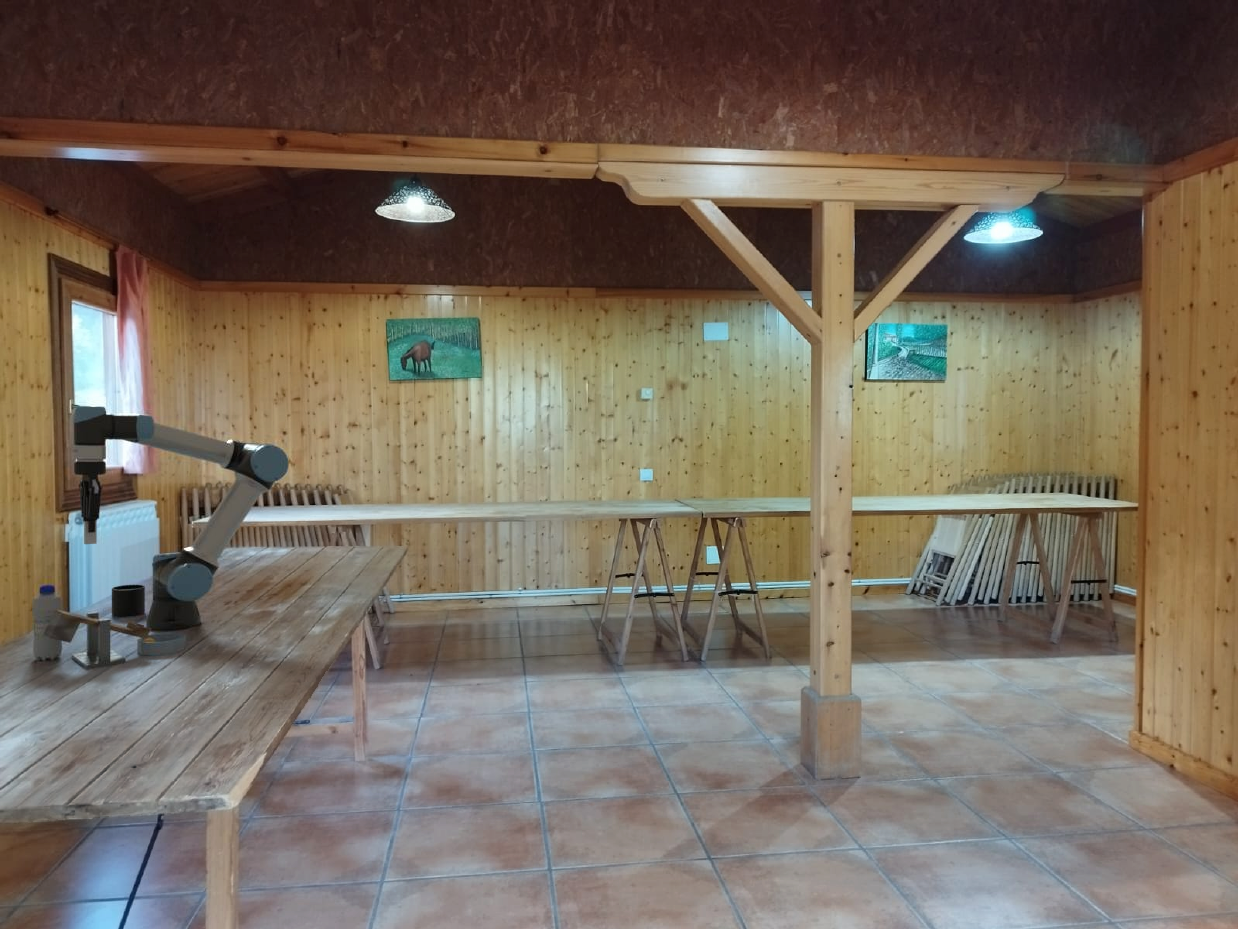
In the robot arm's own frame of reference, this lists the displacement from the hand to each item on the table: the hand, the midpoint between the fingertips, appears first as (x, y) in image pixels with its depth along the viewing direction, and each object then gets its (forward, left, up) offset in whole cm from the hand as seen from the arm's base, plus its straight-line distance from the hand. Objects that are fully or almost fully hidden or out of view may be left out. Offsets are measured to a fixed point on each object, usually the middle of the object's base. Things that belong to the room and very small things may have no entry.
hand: (90, 543), depth 229 cm
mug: (-32, -28, -30) cm, 52 cm away
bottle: (+13, +2, -30) cm, 32 cm away
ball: (-4, +19, -27) cm, 33 cm away
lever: (+9, +14, -25) cm, 31 cm away
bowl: (-7, +20, -29) cm, 36 cm away
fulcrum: (+8, +15, -29) cm, 34 cm away
